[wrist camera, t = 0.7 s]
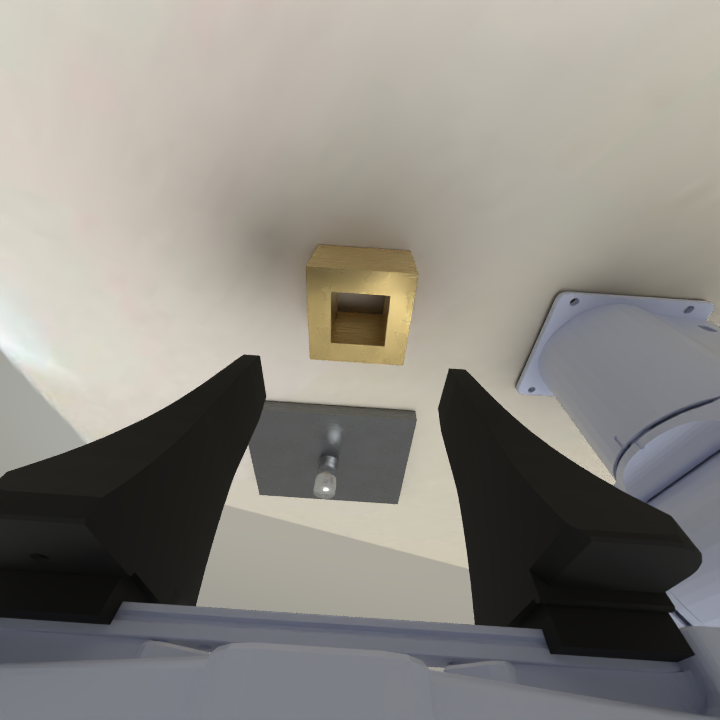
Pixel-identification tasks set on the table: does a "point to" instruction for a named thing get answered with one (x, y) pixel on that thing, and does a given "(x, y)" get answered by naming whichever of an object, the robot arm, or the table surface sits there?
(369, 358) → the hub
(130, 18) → the table surface
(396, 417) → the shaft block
